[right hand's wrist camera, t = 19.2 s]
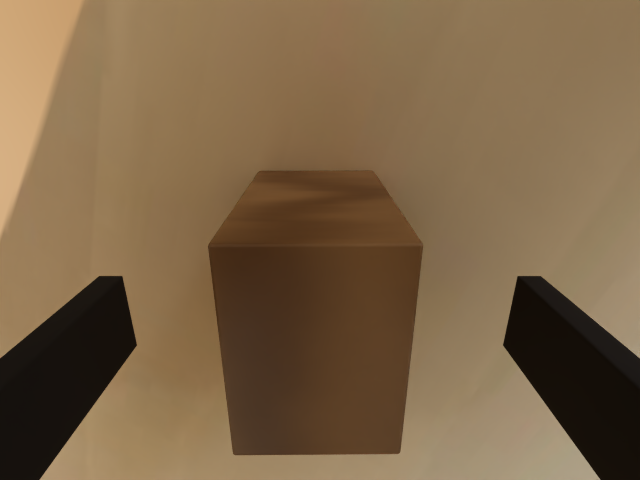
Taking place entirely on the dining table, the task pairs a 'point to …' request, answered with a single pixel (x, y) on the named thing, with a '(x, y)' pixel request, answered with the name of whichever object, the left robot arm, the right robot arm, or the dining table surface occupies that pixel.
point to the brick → (315, 314)
